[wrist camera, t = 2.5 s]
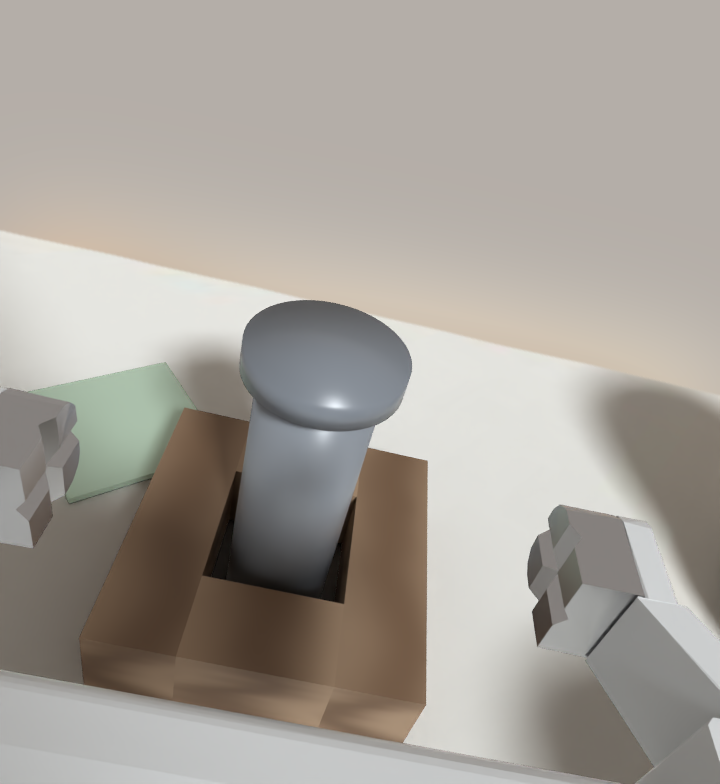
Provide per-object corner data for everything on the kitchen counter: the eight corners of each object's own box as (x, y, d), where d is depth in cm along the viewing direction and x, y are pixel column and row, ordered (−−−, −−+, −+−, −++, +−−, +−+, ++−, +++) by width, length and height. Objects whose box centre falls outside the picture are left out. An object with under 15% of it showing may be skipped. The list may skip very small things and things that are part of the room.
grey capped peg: (191, 556, 34) (212, 315, 24) (296, 515, 37) (351, 290, 28) (248, 660, 30) (299, 426, 21) (359, 604, 34) (445, 381, 24)
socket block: (84, 686, 28) (79, 637, 26) (181, 456, 39) (184, 407, 36) (400, 745, 29) (425, 704, 26) (409, 505, 40) (427, 460, 37)
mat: (22, 397, 40) (21, 393, 39) (165, 366, 45) (165, 362, 44) (69, 503, 35) (68, 498, 34) (224, 455, 40) (224, 450, 39)
